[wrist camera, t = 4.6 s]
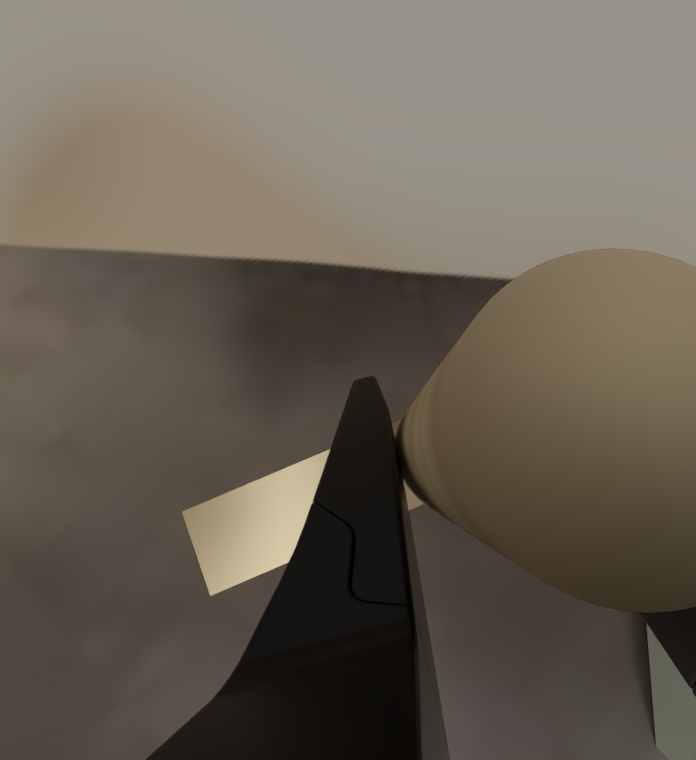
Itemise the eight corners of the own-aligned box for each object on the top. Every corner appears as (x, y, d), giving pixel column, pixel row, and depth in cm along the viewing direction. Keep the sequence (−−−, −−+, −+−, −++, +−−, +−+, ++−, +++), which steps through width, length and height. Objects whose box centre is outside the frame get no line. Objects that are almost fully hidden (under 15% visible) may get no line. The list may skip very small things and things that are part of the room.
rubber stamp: (597, 339, 16) (1385, -88, 4) (632, 405, 15) (1659, 176, 3) (205, 506, 15) (-426, 665, 3) (231, 578, 15) (-382, 1093, 3)
